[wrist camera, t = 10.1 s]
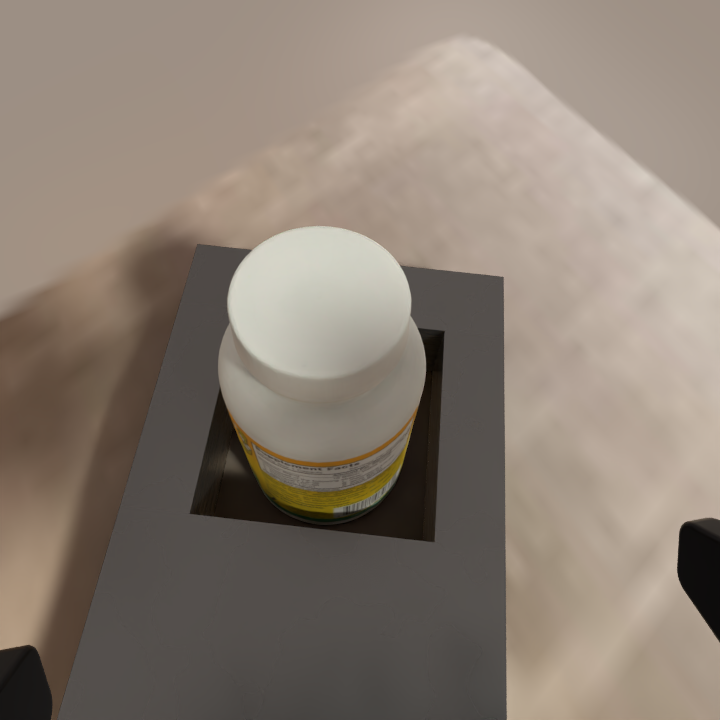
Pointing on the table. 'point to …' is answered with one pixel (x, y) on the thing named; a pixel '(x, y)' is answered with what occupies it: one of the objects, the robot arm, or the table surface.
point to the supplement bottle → (322, 371)
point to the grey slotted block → (305, 551)
